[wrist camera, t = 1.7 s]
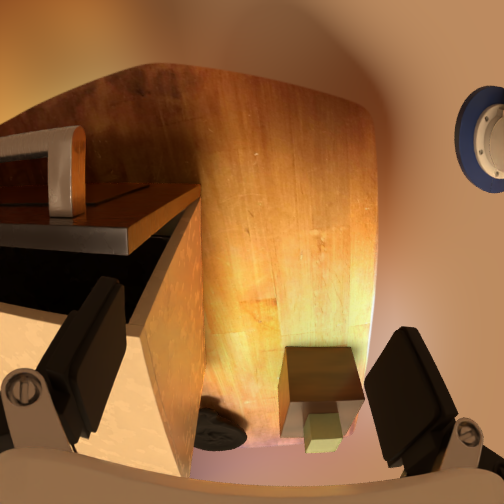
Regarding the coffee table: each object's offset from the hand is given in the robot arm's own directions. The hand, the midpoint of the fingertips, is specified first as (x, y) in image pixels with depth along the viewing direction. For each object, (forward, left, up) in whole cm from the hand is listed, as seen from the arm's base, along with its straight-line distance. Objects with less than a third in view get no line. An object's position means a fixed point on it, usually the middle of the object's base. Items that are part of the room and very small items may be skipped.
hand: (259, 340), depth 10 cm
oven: (+23, -27, -32) cm, 48 cm away
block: (+39, +13, -20) cm, 46 cm away
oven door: (+3, -27, -33) cm, 43 cm away
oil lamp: (+59, -6, -33) cm, 68 cm away
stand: (+39, +13, -32) cm, 52 cm away
